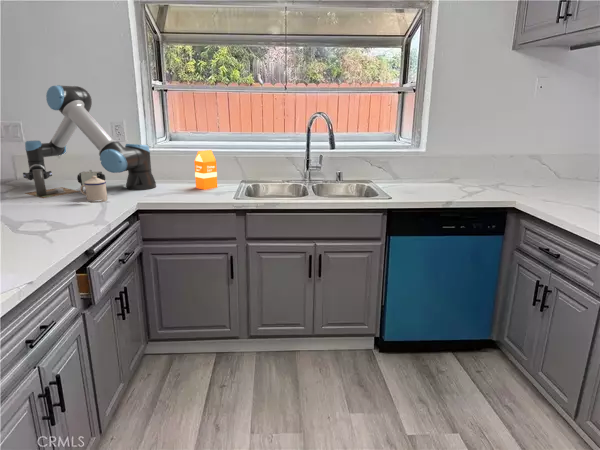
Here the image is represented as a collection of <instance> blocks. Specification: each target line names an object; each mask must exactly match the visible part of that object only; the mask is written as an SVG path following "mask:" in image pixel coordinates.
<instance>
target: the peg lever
mask: <svg viewBox="0 0 600 450" xmlns="http://www.w3.org/2000/svg"><path fill="white" fill-rule="evenodd" d="M33 176H34V179H33V182H34V188H35V191H36V193H37V196H44V195H47V194H52V193H62V192H64V190H63V188H64V187H63V188H60V187H56V188H57V189H55V190H53V191H47V192H46V190H47V187H46V183H45V179H44V175H43V169H35V170H33Z"/></svg>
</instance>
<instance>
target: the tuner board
mask: <svg viewBox="0 0 600 450" xmlns="http://www.w3.org/2000/svg"><path fill="white" fill-rule="evenodd" d="M57 188H58V187H56V188H55V187H54V188H48V189H47V188H46V192H47V191H53V190H55V189H57ZM59 188H63V190H64V192H62V193H52V194H47V195H44V196H37V193H36V190H35V191H29V192H24V194H26V195H30V196H33V197H36V198H41V199H46V198H52V197H57V196H64V195H69V194H70V195H71V194H76V193H81V190H75V189H71V188H67V187H59Z"/></svg>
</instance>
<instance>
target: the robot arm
mask: <svg viewBox="0 0 600 450" xmlns="http://www.w3.org/2000/svg"><path fill="white" fill-rule="evenodd" d="M45 95H46V96H45V97H46V103H47V105H48V107H49V108H50V109H51V110H52V111H59V112H60V114H62V115H63V116H64V117H63V119H62V121H61V122H60V124H59V126H58V127H57V129H56V131H55V133H54V134H53V136H52V138H51V139H50V141H49V142H43V143H42V141H41V140H37V139H36V140H26V141H25V142H24V144H25V145H24V146H25V147H24V149H25V152H26V157H27V164H28V172H22V177H23V178H24V179H27V180H29V181H32V180H34V176H33V170H35V169H43V175H44V180H47V179H49V178H50V177H52V176H53V173H52V170H49V171H46V166H45V158H49V157H59V155H60V156H63V155H62V154H64V153H65V152H66V146H67V144H68V143H69V141H70V139H71V138H72V136H73V135H74V133H75V131H76V129H77V128H79V130H80V131H81V132H82V134H84V136H86V138H87V139H88V140H89V141H90V142H91V143H92V144H93V145H94V147H95V148H96V149H97V150H98V151H99V152H98V155H99V161H100V164H101V166H102V168H104V169H105V170H106V171H107V172H109V173H114V174H117V173H123V172H127V178H126V182H125V186H126V189H127V190H131V191H141V190H150V189H155V188H156V187H157V182H156V181H155V177H154V175H153V173H152V163H151V151H150V147H149V145H147V144H137V143H136V144H135V143H126V144H125V146H123V145H122V144H121V143H120V141H118V140H115V139H113V138H112V137H111V136H110V135H109V134H108V132H106V130H105V129H104V128H103V127H102V125H100V123H98V121H97V120H96V118H94V117H93V116H92V115H91V114H90V110H91V108H92V106H93V105H92V96H91V94H90V93H89V91H88V90H86V88H83V87H81V86H75V85H74V86H71V85H60V84H57V85H52V86H50V87H49V88H48V89H47V90H46V94H45ZM66 153H67V152H66ZM66 153H65V154H66ZM65 154H64V155H65Z"/></svg>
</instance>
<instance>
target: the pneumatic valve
mask: <svg viewBox="0 0 600 450" xmlns="http://www.w3.org/2000/svg"><path fill="white" fill-rule="evenodd" d="M92 176H97V178H100V179H102V180H105V181H106V175H105V174H103V172H102V171H92V169H89V171H82V172H79V173H78V174H77V177H76V178H77V179H76V180H77V181H78V183H79V184H80V187H81V186H82V185H85V184H84V182H85V181H88V180H89V179H91V178H92Z"/></svg>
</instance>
